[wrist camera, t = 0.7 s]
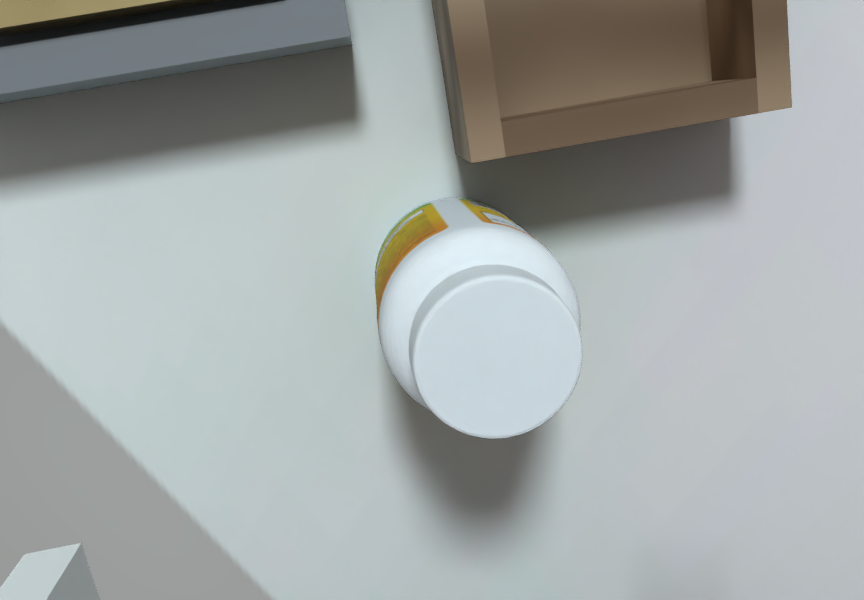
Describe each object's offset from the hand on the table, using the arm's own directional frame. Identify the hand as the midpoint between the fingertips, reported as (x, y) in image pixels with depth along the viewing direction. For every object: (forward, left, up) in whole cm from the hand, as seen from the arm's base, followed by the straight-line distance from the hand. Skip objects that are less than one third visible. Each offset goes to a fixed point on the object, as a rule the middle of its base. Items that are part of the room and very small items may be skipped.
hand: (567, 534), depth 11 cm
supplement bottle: (0, 0, -17) cm, 17 cm away
